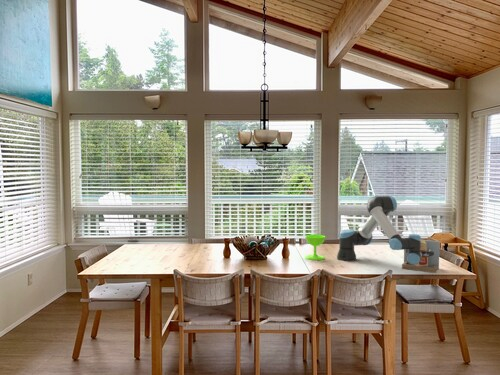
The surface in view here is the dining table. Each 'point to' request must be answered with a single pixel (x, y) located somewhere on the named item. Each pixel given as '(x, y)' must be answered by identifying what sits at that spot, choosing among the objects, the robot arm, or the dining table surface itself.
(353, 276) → the dining table surface
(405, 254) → the wall board
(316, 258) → the wineglass
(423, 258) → the milk carton
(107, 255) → the dining table surface
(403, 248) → the robot arm
